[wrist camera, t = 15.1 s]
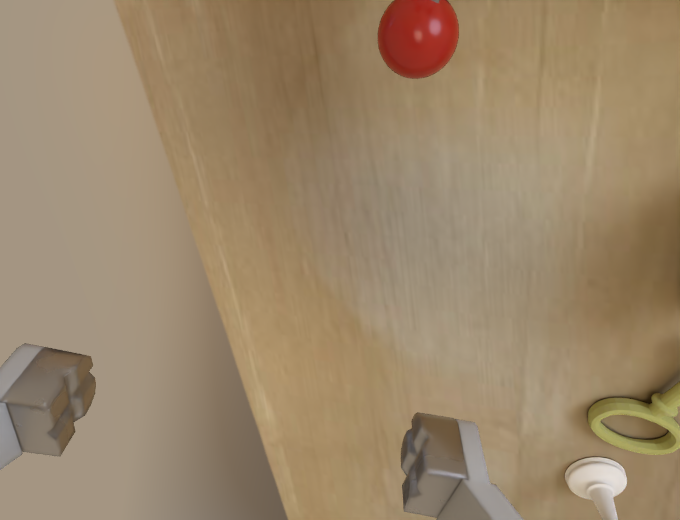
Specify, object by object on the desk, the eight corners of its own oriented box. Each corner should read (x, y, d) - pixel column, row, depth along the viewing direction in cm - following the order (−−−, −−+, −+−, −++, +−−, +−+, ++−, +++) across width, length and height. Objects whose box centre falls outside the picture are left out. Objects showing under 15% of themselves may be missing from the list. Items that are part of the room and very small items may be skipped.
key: (734, 333, 33) (752, 353, 31) (665, 449, 39) (677, 472, 37) (625, 319, 34) (637, 338, 32) (575, 435, 40) (582, 456, 38)
